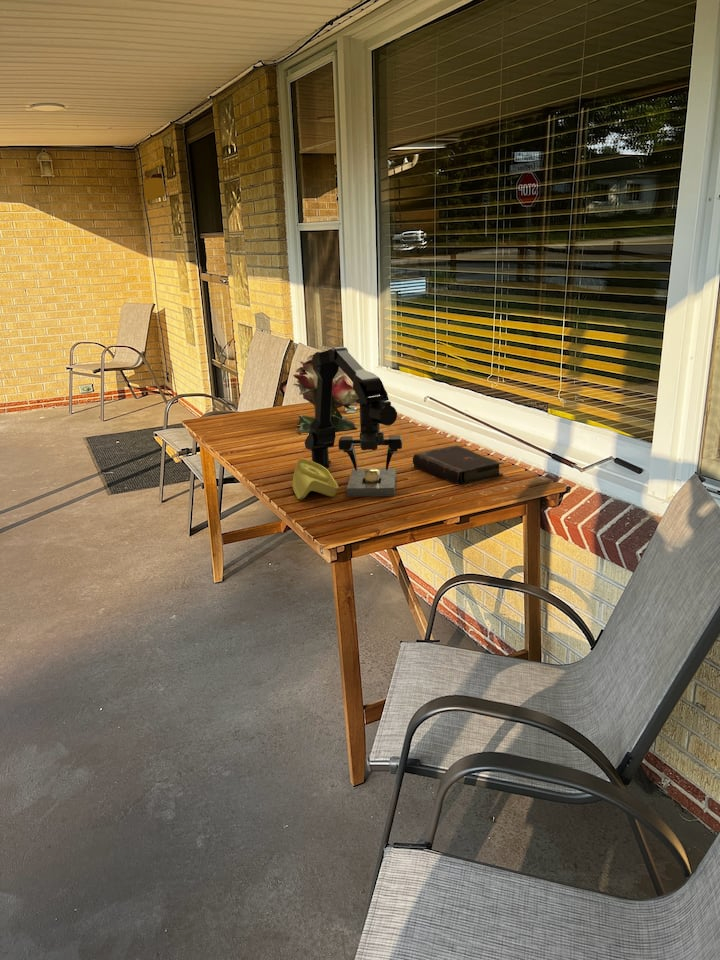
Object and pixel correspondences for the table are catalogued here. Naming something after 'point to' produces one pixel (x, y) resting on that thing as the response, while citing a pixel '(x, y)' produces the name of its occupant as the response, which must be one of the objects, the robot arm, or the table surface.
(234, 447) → the table surface
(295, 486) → the plastic component
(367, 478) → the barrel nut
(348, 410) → the pneumatic valve
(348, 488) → the flange plate
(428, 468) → the diary
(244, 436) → the table surface
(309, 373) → the rose bouquet
